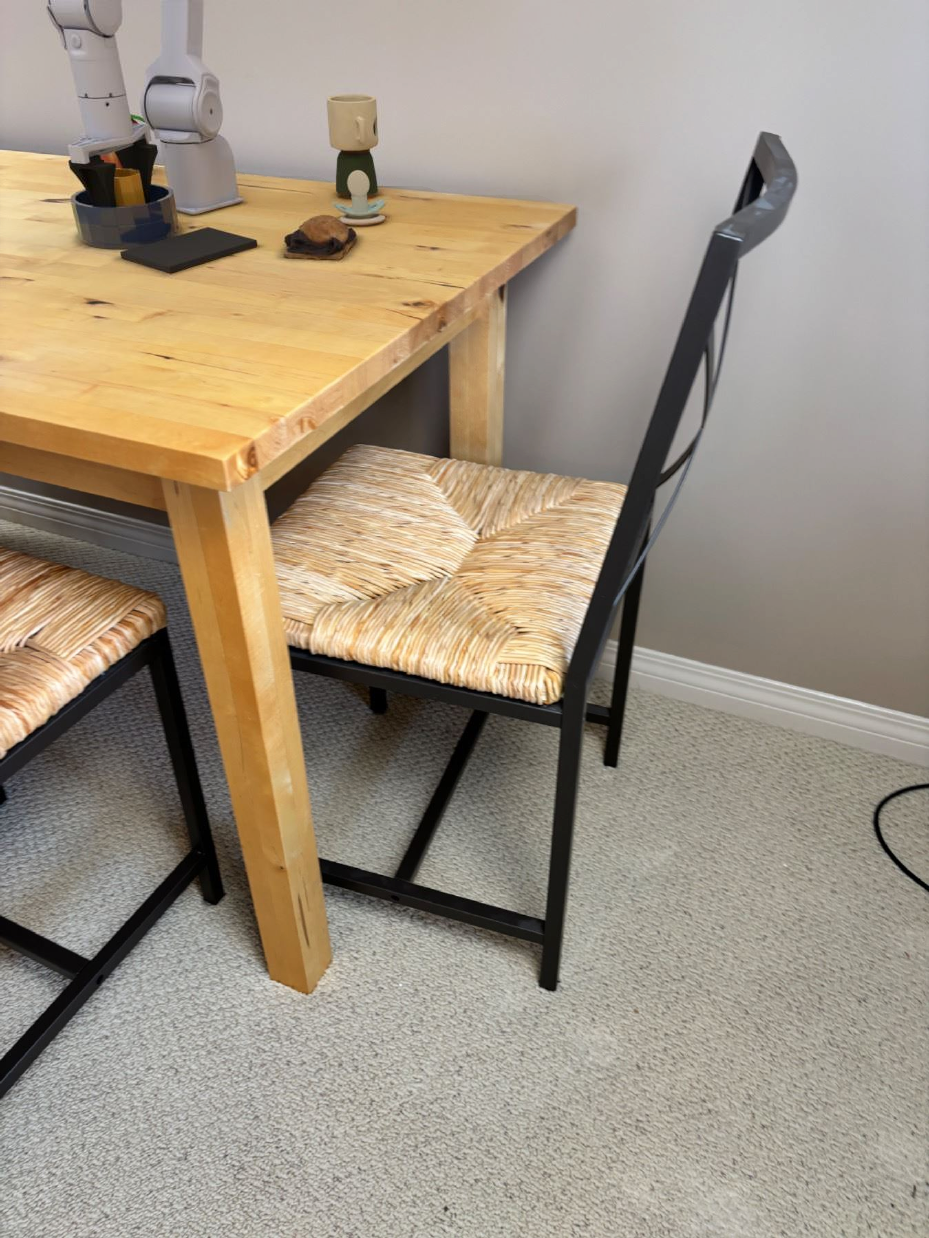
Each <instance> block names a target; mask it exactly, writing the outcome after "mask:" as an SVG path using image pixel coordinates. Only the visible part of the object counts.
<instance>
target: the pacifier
mask: <svg viewBox="0 0 929 1238" xmlns="http://www.w3.org/2000/svg"><path fill="white" fill-rule="evenodd" d="M347 184H348V189H349V191H350V192H351V195H350V196H351V206H349V205H346V204H343V203H339V202H335V201H333V202H332V205H333V207H334V208H335V209H336V210H338V211H339V212H341V213H343V214H344V215H342V216H340V217H339V218H338V219H339V220H341V221H342V222H343V223H344V224H345V225H353V226H360V225H361V226H365V225H373V224H378V223H381V222H384V221H385V220H386V216H385V215H383V214H381V213H378V212H379V211H381V210H382V209H383V208H384V207H385V206H386V204H387V199H385V198H381V199H378V200H376V201H373V202H370V203H369V204H368V194H367V192H368V190H369V186H370V185H369V179H368V177H367V175H366V174H365V173H364V172H362V171H360V170H356V171H353V172H352V173H351V174H350V175H349V177H348V182H347Z"/></svg>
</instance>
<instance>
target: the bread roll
mask: <svg viewBox="0 0 929 1238" xmlns="http://www.w3.org/2000/svg"><path fill="white" fill-rule="evenodd" d="M357 238H358V234H357V231H356V230H354V228H353V227H348V226H347V224H344V223H343V222H342V221H341V220H339V218H338V217H336V216H334V215H330V214H319V215H314V216H313V217H309V218H308V219H307V220H306V221H303V223H301V225H300V226H299V227H298V228H297V230H295V231H294V232H292V233H289V234H287V235H285V236H284V243H285V246H286V248H285V249H284V251H283V258H289V259H293V258H295V259H303V260H308V259H314V260H318V261H319V260H336V261H337V260H338V261H339V260H341V259H343V258H344V257H345V256H346V255H347V253H348V252H350V248H351V247H353V246H354V244H355V242H356V241H357Z"/></svg>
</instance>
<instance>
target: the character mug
mask: <svg viewBox="0 0 929 1238" xmlns="http://www.w3.org/2000/svg"><path fill="white" fill-rule="evenodd" d="M326 108H327V109H326V110H327V122H328V124H327V125H328V137H329V144H330V147H331V148H332V149H335V150H337V151H339V152H338V154H337V158H336V168H335V171H336V172H335V192H336V194H339V195H344V196H345V195H346V196H347V195H348V196H349V195H350V196H351V192H350V191H349V189H348V184H347V182H348V177H349V175H350V174H351V173H352V172H353V171H356V170H360V171H362V172H364V173H365V174H366V175H367V177H368V179H369V185H370V186H369V190H368V192H367V195H371V196H372V195H375V194H377V193H378V191H379V187H378V179H377V173H376V168H375V163H374V156H373V155H372V153H371V149H373V148H374V147H377V146H378V144H379V133H378V132H379V131H378V129H379V128H378V105H377V97H376V96H374V95H368V94H358V93H357V94H355V93H351V94H349V93H345V94H336V95H331V96H328V97H327V98H326Z"/></svg>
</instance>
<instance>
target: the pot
mask: <svg viewBox="0 0 929 1238" xmlns="http://www.w3.org/2000/svg"><path fill="white" fill-rule="evenodd" d="M70 205H71V208H72V209H71V210H72V213H73V218H74V221H75V225H76V231H77V235H78V237H79V240H80V242H81V243H83V244H84V245H86V246H89V247H91V248H97V249H106V250H128V249H132V248H136V247H139V246H143V245H146V244H150V243H153V242H157V241H160V240H164V239H167V238H171V237H175V236H178V235H180V233H181V228H180V223H179V217H178V211H177V210H176V204H175V199H174V193H173V190H172V189H171V188H169V187H168V185H162V184H158V183H151V196H150V202H149V203H145V204H139V205H132V206H119V207H100V206H94V204H93V202H92V200H91V198H90V196H89V194H88V193H87V191H86V189H85V188H84V189H81V190H79V191H76V192H75V193H73V194H72V195H71V196H70Z"/></svg>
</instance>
